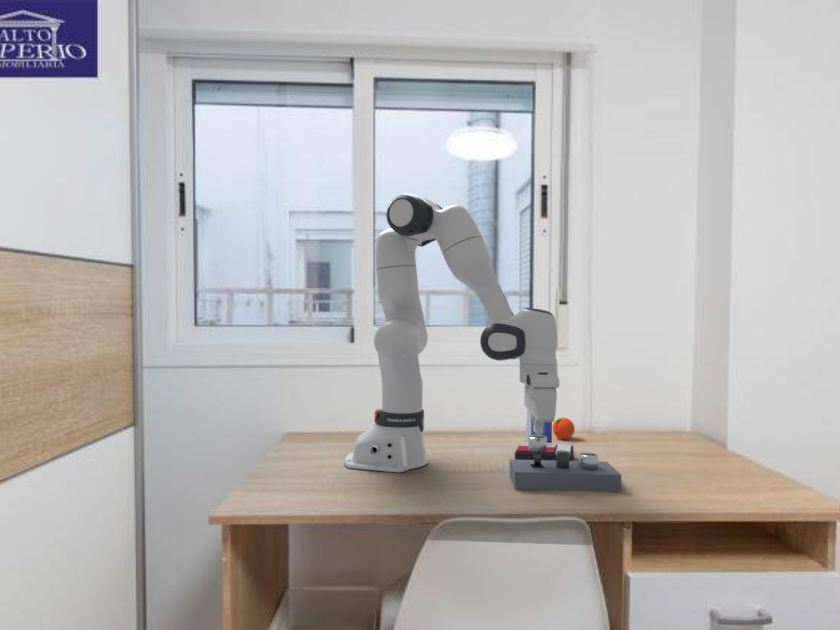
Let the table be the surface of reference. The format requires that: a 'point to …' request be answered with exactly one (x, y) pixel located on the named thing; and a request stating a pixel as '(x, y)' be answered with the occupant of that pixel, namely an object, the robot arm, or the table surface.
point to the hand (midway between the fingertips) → (538, 433)
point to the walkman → (546, 428)
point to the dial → (562, 459)
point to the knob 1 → (537, 447)
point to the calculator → (550, 454)
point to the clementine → (563, 428)
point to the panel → (563, 477)
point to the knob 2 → (588, 461)
